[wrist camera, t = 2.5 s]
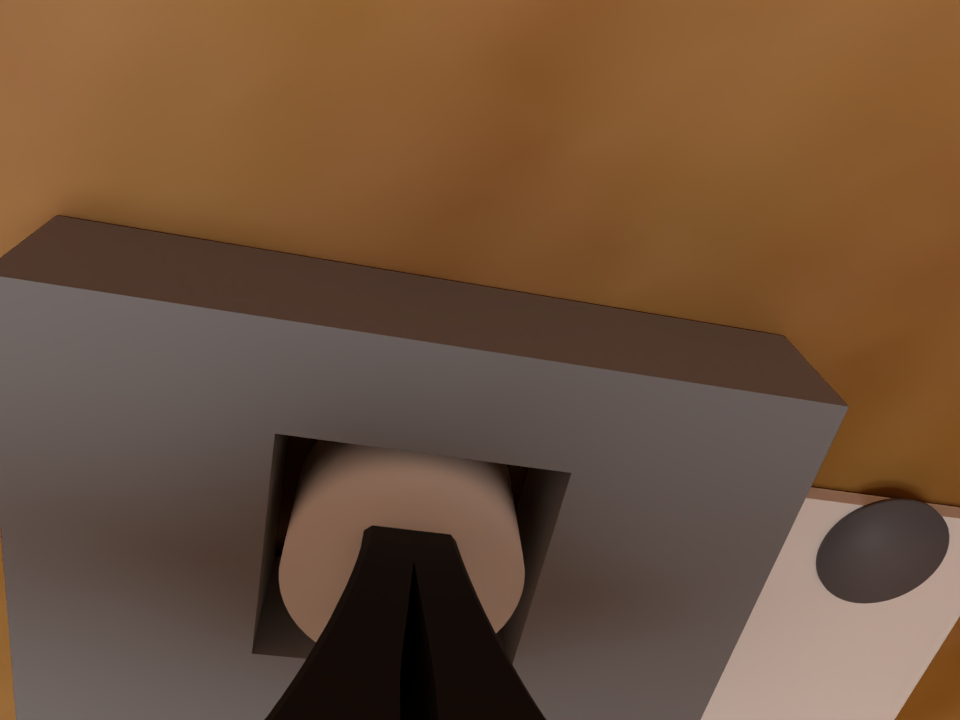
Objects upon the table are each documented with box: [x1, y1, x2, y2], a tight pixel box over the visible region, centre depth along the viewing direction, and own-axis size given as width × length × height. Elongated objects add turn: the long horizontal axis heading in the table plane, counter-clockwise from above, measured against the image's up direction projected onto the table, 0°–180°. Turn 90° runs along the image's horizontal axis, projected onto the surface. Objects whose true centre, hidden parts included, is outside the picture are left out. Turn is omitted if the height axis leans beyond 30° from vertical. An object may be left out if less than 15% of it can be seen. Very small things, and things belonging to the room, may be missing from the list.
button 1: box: [279, 439, 525, 642], centre depth 13 cm, size 4×4×2 cm
